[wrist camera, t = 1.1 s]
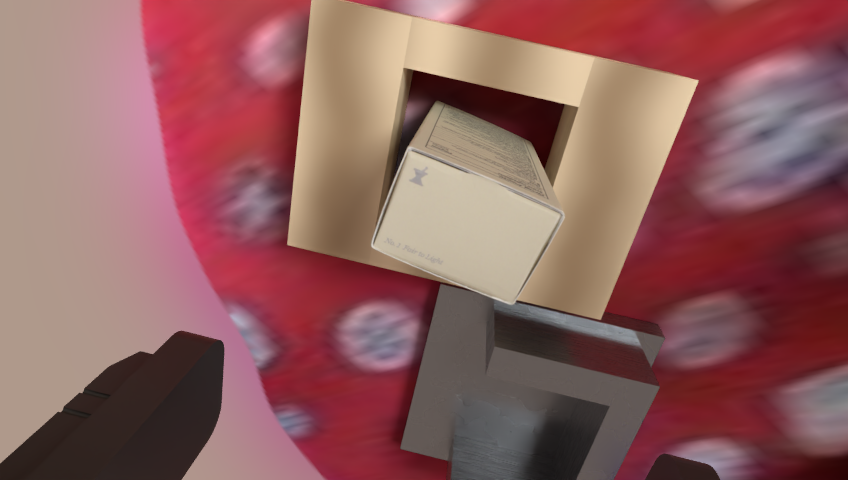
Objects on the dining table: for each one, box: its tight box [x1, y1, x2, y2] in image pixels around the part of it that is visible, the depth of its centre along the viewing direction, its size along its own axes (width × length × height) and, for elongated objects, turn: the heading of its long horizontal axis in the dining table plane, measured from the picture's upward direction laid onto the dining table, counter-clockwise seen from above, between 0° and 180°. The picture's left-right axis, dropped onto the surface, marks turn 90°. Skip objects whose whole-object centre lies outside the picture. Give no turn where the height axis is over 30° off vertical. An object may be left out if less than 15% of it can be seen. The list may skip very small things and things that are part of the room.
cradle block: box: [400, 282, 665, 480], centre depth 33 cm, size 14×14×6 cm
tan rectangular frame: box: [287, 0, 698, 320], centre depth 28 cm, size 18×13×4 cm
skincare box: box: [371, 101, 565, 305], centre depth 24 cm, size 6×4×12 cm
